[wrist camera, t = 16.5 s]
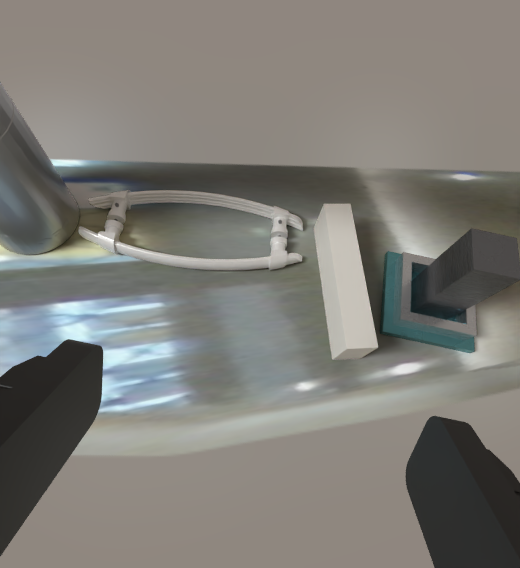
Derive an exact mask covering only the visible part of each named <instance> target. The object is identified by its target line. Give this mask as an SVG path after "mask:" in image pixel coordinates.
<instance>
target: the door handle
mask: <svg viewBox="0 0 520 568" xmlns="http://www.w3.org/2000/svg"><path fill="white" fill-rule="evenodd" d="M88 201H89V202H90V205H93V206H95V207H96V208H97V207H100V208H102V209H106V208H111V207H112V208H111V210H110V211H109V212H108V215H107V219H108V220H107V221H106V222H105V226H104V228H105V232H103V231H99V233H98V234H97V233H95V232H93V231H91V230H89V229H86V228H84V227H82V226H80V227H79V230H78V232H79V234H80V235H81V236H82V237H83V238H85V239H87V240H89V241H91V242H93V243H95V244H97V245H100V247H101V248H103V249H105V250H108V251H110V252H112V253H115V254H119V253H121V254H124V255H127V256H131V257H134V258H137V259H141V260H145V261H149V262H153V263H158V264H163V265H168V266H174V267H181V268H189V269H201V270H251V269H261V268H269V270H273V269H278V268H283V267H285V265H288V264H293V263H297V262H301V261H302V255H299V253H297V254H296V253H288V254H287V251H285V248H286V247H287V239H286V238H287V237H288V231H287V229H286V224H287V225H290V226H292V227H294V228H297V229H299V230H301V231H303V223H302V220H301V219H300V218H299V217H298V216H296V215H294V214H291V213H289V211H287V210H285V209H282V208H280V207H277V206H275V205H274V207H271V206H268V205H265V204H261V203H258V202H254V201H250V200H246V199H242V198H237V197H232V196H227V195H221V194H214V193H206V192H196V191H177V190H157V191H138V192H131V191H130V190H125V191H118V192H112V193H110V195H105V196H99V197H94V198H88ZM146 203H194V204H206V205H213V206H220V207H226V208H231V209H236V210H241V211H245V212H249V213H253V214H257V215H260V216H264V217H267V218H270V219H272V224H273V228H272V230H271V237H272V238H271V240H270V246H271V248H272V249H271V254H270V257H261V258H250V259H204V258H191V257H183V256H175V255H169V254H164V253H159V252H154V251H150V250H146V249H142V248H138V247H134V246H131V245H128V244H124V243H121V242H120V240H119V235H120V233H122V230H123V227H124V226H123V224H124V223H125V219H126V215H125V212H126V209H128V210H130V208H131V205H134V204H146Z"/></svg>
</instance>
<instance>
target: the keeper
mask: <svg viewBox="0 0 520 568" xmlns="http://www.w3.org/2000/svg"><path fill="white" fill-rule="evenodd" d="M435 260H436V259H432V258H428V257H423V256H419V255H414V254H409V253H405V252H403V253H402V254H398V253H394V252H389V251H388V252H387V253H386V254H385V264H384V279H383V294H382V310H381V325H380V334H385V335H389V336H394V337H399V338H403V339H408V340H412V341H417V342H421V343H426V344H431V345H435V346H440V347H444V348H449V349H453V350H458V351H462V352H467V353H472V352H474V351H475V350H474V337H475V336H477V329H476V309H475V305H473V306H472V307H470V308H468V309H466V310H464V311H462V312H461V313H459V314H457V315H455V316H453V317H451V318H450V319H448V320H445V319H440V318H436V317H431V316H426V315H422V314H417V313H413V312H411V297H412V280H413V279H414V278H415V277H416V276H417V275H418V274H420V273H421V272H422V271H423V270H424V269H425V268H426V267H428V266H429V265H430V264H431V263H432V262H433V261H435Z"/></svg>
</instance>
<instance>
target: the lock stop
mask: <svg viewBox="0 0 520 568" xmlns="http://www.w3.org/2000/svg"><path fill="white" fill-rule="evenodd" d="M519 280H520V262H519V253H518V244H517V238H514V237H509V236H504V235H500V234H495V233H490V232H486V231H481V230H476V229H470V230H469V231H468V232H467V233H466V234H465V235H463V236H462V237H461V238H460V239H459V240H458V241H456V242H455V243H454V244H453V245H452V246H451V247H450V248H448V249H447V250H446V251H445V252H444V253H443V254H441V255H440V256H439V257H438V258H437V259H436V260H435V261H433V262H432V263H431V264H430V265H429V266H428V267H426V268H425V269H424V270H423V271H422V272H421V273H420V274H418V275H417V276H416V277H415V278H414V279H413V280H412V297H411V312H413V313H417V314H422V315H426V316H431V317H436V318H440V319H445V320H448V319H450V318H451V317H453V316H455V315H457V314H459V313H461V312H462V311H464V310H466V309H468V308H470V307H472V306H473V305H475V304H477V303H479V302H481V301H483V300H484V299H486V298H488V297H490V296H492V295H494V294H495V293H497V292H499V291H501V290H503V289H505V288H506V287H508V286H510V285H512V284H514V283H516V282H517V281H519Z"/></svg>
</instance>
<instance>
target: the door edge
mask: <svg viewBox="0 0 520 568" xmlns="http://www.w3.org/2000/svg"><path fill="white" fill-rule="evenodd" d="M314 234H315V241H316V248H317V255H318V262H319V269H320V276H321V283H322V291H323V298H324V305H325V312H326V319H327V326H328V333H329V340H330V347H331V354H332V360H343V359H360V358H362V357H364V356H365V355H367V354H369V353H370V352H372V351H373V350H375V349H377V348H378V343H377V338H376V333H375V328H374V323H373V317H372V312H371V307H370V302H369V297H368V292H367V286H366V281H365V276H364V271H363V266H362V261H361V255H360V250H359V245H358V240H357V235H356V230H355V225H354V219H353V214H352V209H351V204H324V205H323V207H322V209H321V212H320V214H319V217H318V219H317V222H316V224H315V227H314Z"/></svg>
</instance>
